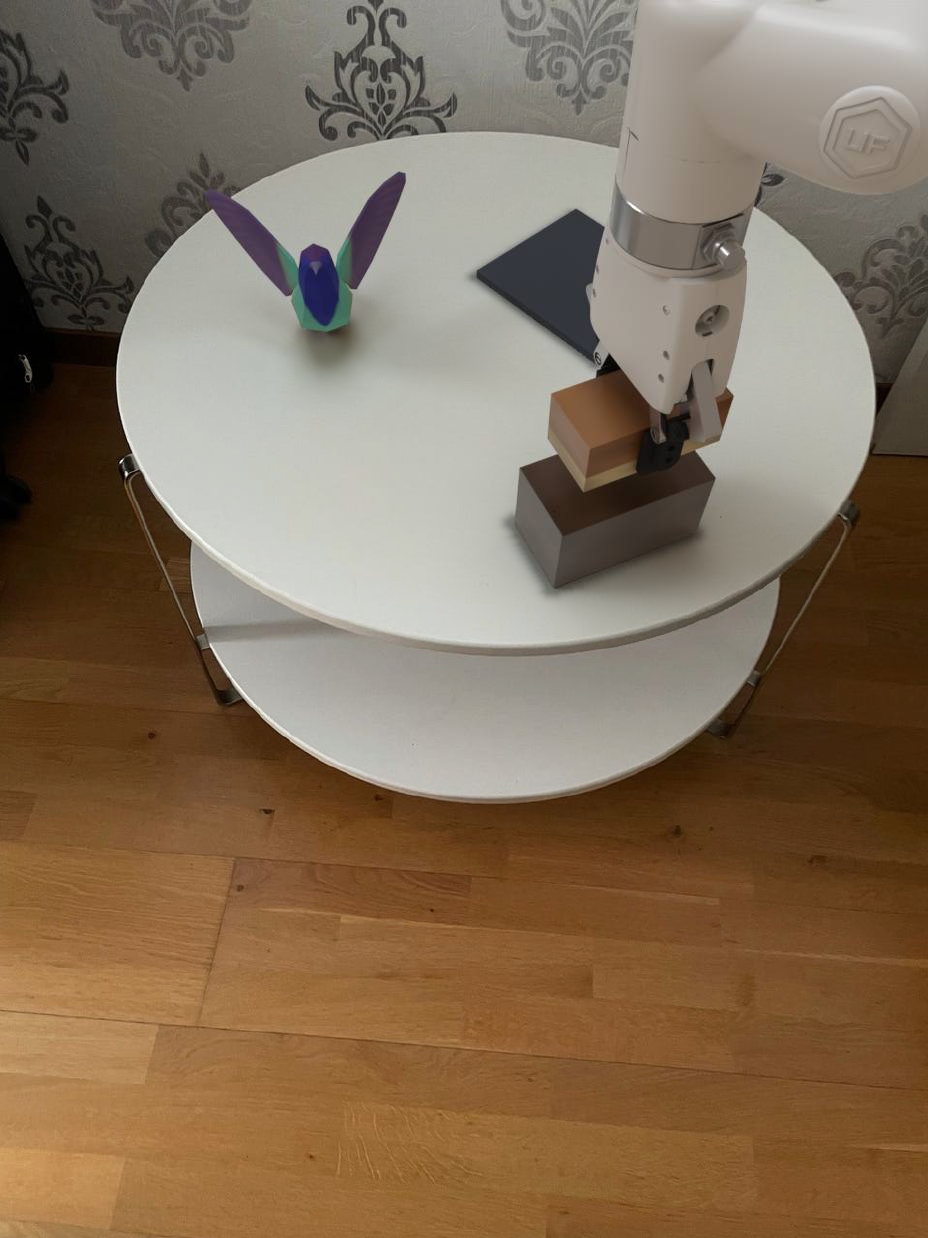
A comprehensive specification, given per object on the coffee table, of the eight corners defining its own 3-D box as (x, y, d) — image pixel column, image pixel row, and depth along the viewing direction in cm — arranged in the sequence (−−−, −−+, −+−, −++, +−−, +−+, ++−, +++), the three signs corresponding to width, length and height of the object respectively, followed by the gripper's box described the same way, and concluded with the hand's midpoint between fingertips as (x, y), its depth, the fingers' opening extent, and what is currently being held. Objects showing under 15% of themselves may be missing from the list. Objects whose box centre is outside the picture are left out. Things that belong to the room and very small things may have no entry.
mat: (695, 293, 91) (697, 286, 91) (596, 364, 86) (597, 357, 86) (575, 214, 97) (576, 207, 97) (476, 277, 92) (476, 270, 92)
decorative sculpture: (239, 425, 82) (199, 285, 69) (231, 282, 92) (195, 134, 79) (434, 403, 84) (430, 261, 71) (407, 264, 93) (399, 117, 80)
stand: (652, 471, 80) (668, 413, 74) (696, 533, 77) (716, 477, 71) (514, 522, 77) (519, 467, 71) (553, 588, 74) (562, 536, 68)
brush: (679, 389, 70) (691, 343, 66) (719, 440, 67) (734, 395, 64) (546, 438, 68) (550, 392, 64) (583, 493, 65) (589, 449, 61)
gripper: (831, 286, 48) (746, 505, 64) (658, 111, 57) (620, 343, 72) (705, 330, 47) (649, 543, 62) (546, 144, 55) (532, 373, 71)
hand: (634, 434), depth 67 cm, fingers closed on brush, 5 cm apart
